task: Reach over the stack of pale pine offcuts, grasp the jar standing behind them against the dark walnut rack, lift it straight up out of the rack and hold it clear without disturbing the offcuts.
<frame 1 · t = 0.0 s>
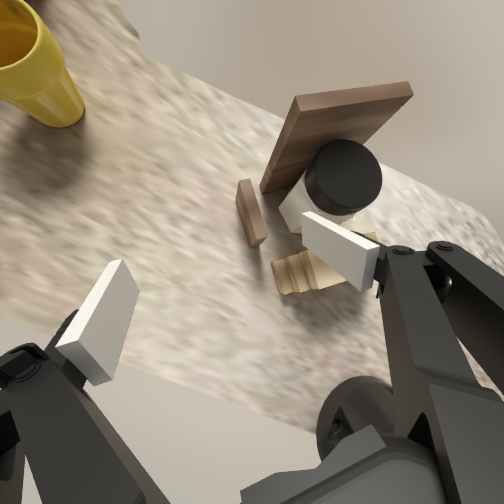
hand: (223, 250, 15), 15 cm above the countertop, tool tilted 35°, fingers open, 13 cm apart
offcut short: (337, 260, 28), point 4 cm above the countertop, touching offcut mid
jar: (303, 211, 33), on the countertop
rack: (304, 211, 33), on the countertop
offcut mid: (327, 262, 30), point 2 cm above the countertop, touching offcut short
plant pot: (60, 109, 30), on the countertop
offcut long: (319, 263, 33), on the countertop
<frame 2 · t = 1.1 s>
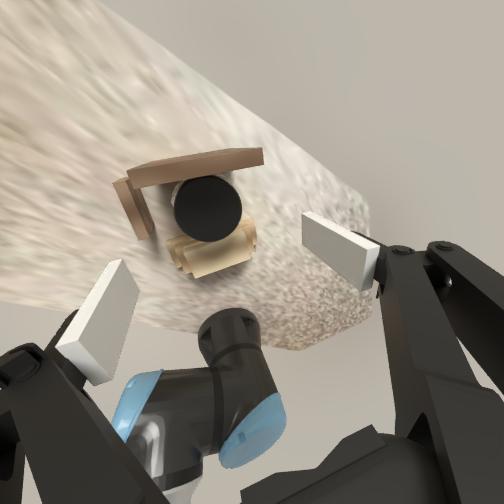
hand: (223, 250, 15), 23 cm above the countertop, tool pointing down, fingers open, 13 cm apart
offcut short: (217, 249, 35), point 4 cm above the countertop, touching offcut mid
jar: (201, 193, 35), on the countertop
rack: (201, 193, 34), on the countertop
offcut mid: (215, 245, 37), point 2 cm above the countertop, touching offcut long, offcut short
offcut long: (213, 239, 39), on the countertop, touching offcut mid
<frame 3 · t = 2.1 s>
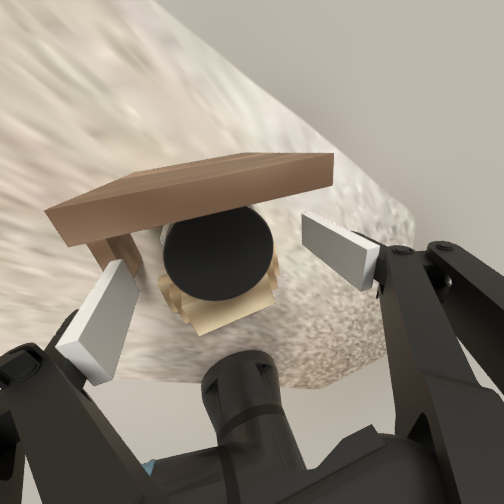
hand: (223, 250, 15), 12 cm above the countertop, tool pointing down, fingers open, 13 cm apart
offcut short: (228, 292, 26), point 4 cm above the countertop, touching offcut mid
jar: (206, 213, 25), on the countertop
rack: (206, 214, 25), on the countertop
offcut mid: (224, 280, 28), point 2 cm above the countertop, touching offcut long, offcut short
offcut long: (221, 270, 30), on the countertop, touching offcut mid
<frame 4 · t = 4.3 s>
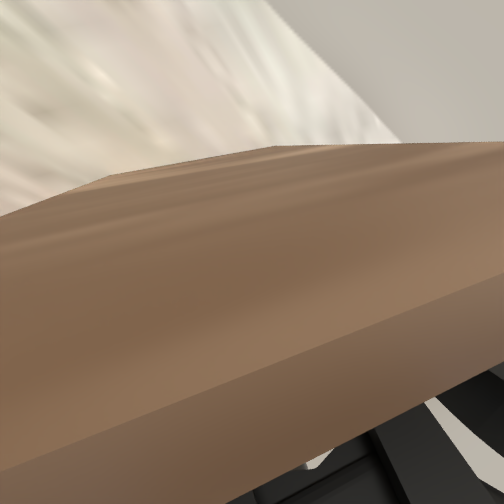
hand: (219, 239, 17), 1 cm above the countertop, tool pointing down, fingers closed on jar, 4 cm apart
rack: (217, 234, 18), on the countertop
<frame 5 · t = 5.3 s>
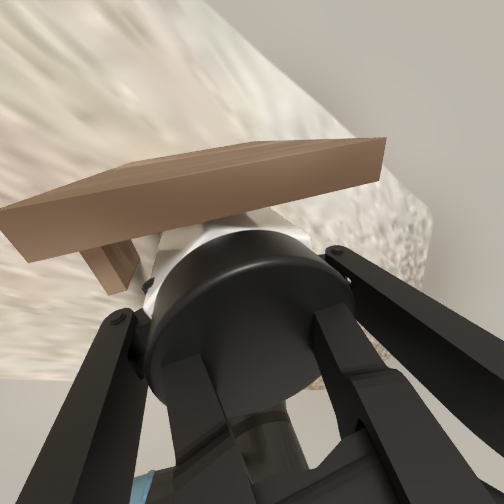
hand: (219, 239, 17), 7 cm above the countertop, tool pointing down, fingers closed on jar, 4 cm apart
jar: (218, 234, 18), point 6 cm above the countertop, touching gripper
rack: (210, 210, 23), on the countertop
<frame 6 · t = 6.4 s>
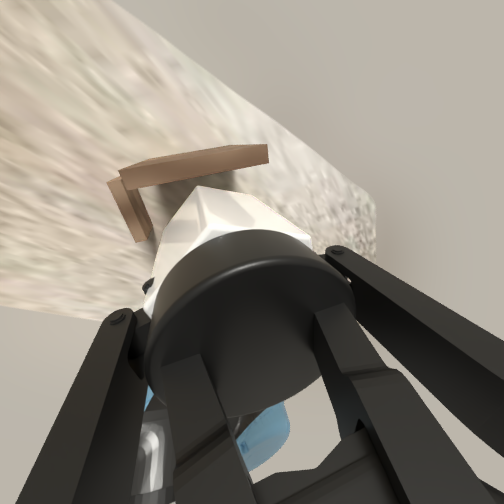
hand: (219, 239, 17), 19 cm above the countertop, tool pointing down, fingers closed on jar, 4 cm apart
jar: (218, 234, 18), point 18 cm above the countertop, touching gripper
rack: (201, 192, 33), on the countertop
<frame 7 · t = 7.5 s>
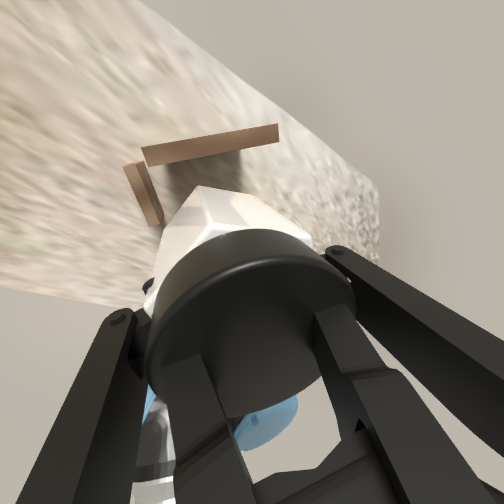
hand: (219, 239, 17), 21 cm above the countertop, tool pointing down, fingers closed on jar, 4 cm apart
jar: (218, 234, 18), point 20 cm above the countertop, touching gripper
rack: (210, 179, 34), on the countertop
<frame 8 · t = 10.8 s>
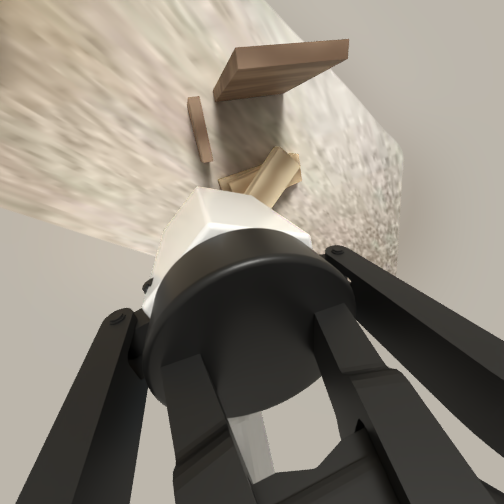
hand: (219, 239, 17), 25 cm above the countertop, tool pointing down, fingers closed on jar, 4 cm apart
offcut short: (267, 181, 36), point 4 cm above the countertop, touching offcut mid
jar: (218, 235, 18), point 23 cm above the countertop, touching gripper
rack: (254, 128, 36), on the countertop
offcut mid: (262, 180, 39), point 2 cm above the countertop, touching offcut long, offcut short
offcut long: (258, 178, 41), on the countertop, touching offcut mid
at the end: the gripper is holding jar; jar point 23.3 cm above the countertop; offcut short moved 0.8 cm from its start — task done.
